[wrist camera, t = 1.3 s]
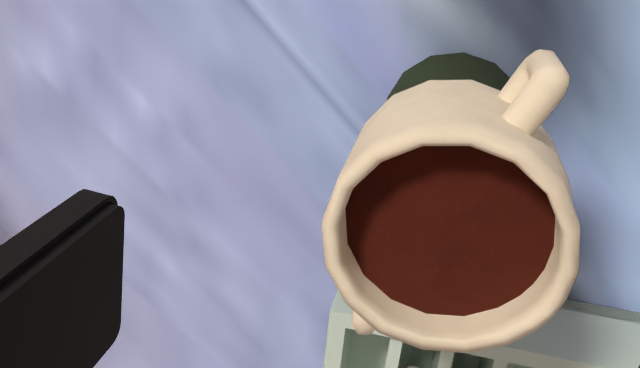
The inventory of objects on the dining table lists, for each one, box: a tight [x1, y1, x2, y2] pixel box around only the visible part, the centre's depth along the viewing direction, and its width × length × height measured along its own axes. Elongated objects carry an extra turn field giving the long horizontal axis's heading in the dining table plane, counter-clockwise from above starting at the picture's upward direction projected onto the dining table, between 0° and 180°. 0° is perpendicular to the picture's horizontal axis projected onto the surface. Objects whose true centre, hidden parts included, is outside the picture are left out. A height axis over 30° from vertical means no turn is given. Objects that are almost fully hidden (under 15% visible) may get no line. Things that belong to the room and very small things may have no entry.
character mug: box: [322, 49, 580, 353], centre depth 22 cm, size 11×7×13 cm, turn 151°
